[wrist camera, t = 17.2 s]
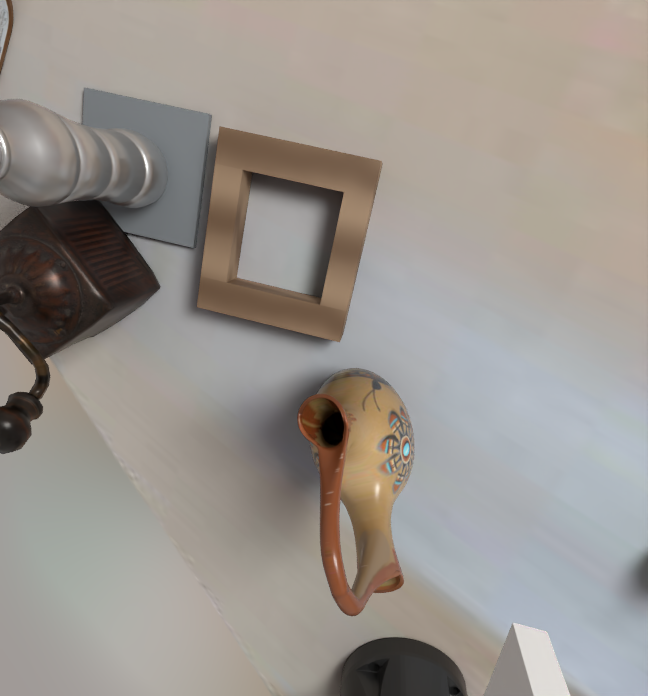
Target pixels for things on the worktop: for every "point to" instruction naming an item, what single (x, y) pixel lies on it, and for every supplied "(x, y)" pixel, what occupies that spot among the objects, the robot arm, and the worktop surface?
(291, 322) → the brown rectangular frame
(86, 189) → the plastic bottle
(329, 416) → the ceramic vessel
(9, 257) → the coffee grinder
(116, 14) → the worktop surface
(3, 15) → the tin
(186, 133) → the rubber mat
